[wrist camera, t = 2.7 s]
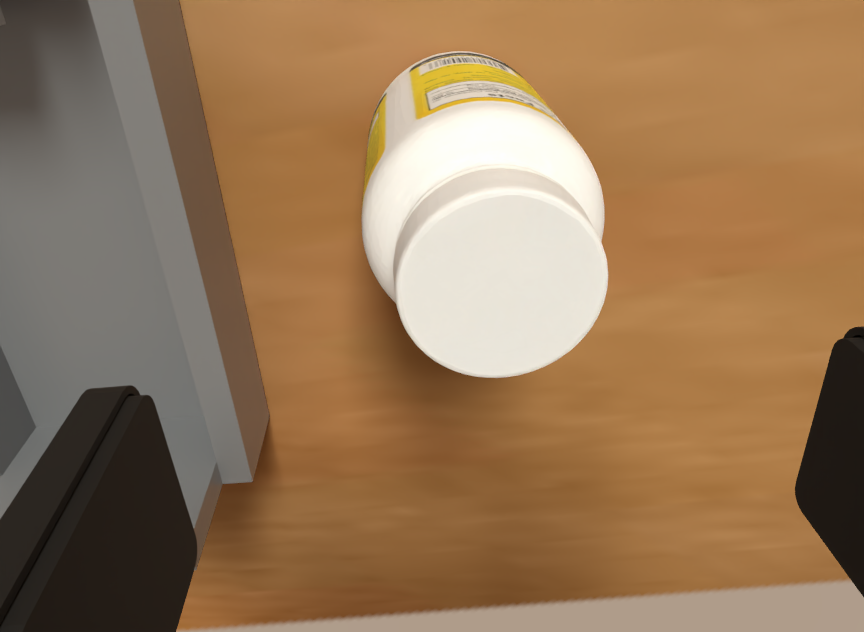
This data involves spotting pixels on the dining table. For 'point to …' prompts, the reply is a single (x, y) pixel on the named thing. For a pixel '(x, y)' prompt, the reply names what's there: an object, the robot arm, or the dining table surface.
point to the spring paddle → (2, 18)
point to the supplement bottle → (482, 217)
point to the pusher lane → (118, 244)
